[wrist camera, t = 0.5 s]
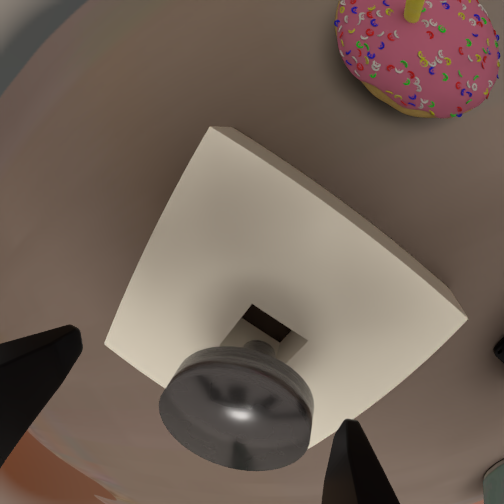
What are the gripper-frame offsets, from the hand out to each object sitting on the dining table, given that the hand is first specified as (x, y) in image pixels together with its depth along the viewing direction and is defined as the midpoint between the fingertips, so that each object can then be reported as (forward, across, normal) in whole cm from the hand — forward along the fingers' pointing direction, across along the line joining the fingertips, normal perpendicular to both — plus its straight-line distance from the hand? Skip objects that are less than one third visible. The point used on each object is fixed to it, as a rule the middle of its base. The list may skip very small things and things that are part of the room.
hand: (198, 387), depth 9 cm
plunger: (+8, -1, +5) cm, 10 cm away
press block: (+13, -1, +5) cm, 14 cm away
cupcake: (+14, -5, -14) cm, 20 cm away
